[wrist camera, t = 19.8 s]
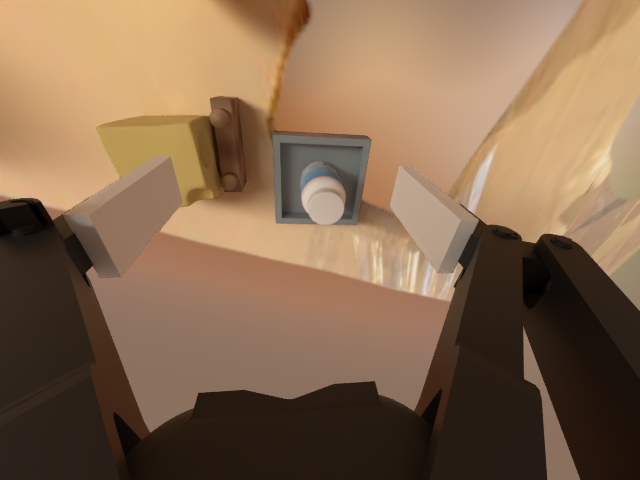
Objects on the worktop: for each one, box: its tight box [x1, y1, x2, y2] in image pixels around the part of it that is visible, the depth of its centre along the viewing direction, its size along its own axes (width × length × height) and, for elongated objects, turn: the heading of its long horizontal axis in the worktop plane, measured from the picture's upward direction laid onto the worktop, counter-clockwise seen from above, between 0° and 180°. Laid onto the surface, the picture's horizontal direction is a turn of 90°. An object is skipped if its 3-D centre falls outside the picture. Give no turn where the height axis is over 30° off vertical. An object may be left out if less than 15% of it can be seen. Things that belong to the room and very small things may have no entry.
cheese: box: [96, 115, 224, 207], centre depth 33 cm, size 10×11×10 cm
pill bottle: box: [300, 161, 346, 225], centre depth 35 cm, size 6×6×11 cm
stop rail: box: [210, 96, 246, 192], centre depth 34 cm, size 12×2×6 cm, turn 176°
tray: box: [273, 131, 371, 225], centre depth 40 cm, size 14×14×3 cm
